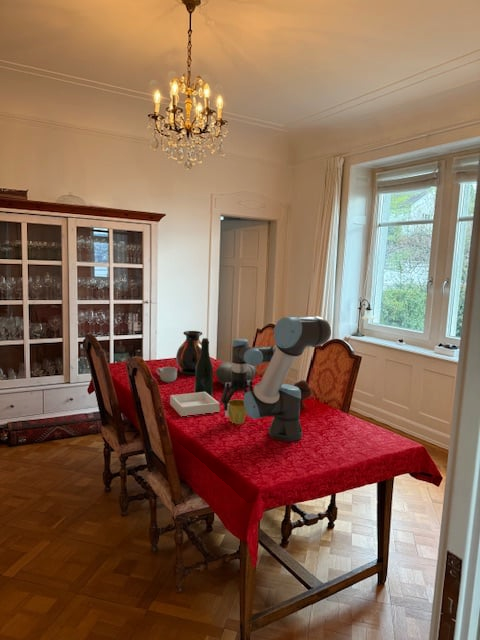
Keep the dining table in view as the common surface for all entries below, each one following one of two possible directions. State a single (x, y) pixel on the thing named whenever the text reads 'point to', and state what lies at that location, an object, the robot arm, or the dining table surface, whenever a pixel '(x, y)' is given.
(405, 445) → the dining table surface
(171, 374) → the teacup
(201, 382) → the beer bottle
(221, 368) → the gourd
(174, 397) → the bin
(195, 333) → the amphora vase
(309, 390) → the ice cream bowl
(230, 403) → the plant pot
